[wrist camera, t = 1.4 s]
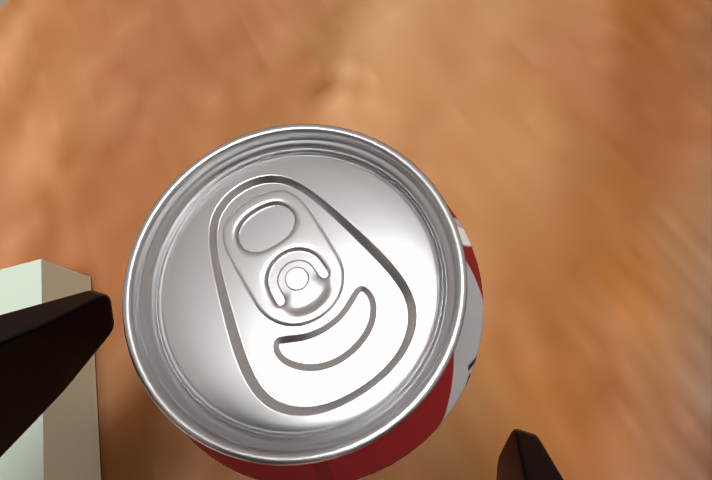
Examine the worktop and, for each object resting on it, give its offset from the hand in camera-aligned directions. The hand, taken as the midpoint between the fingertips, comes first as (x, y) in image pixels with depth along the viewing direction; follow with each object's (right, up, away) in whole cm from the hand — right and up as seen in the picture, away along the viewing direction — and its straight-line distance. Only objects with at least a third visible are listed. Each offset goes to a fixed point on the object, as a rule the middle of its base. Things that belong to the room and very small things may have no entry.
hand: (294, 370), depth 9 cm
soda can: (+1, -2, +9) cm, 10 cm away
